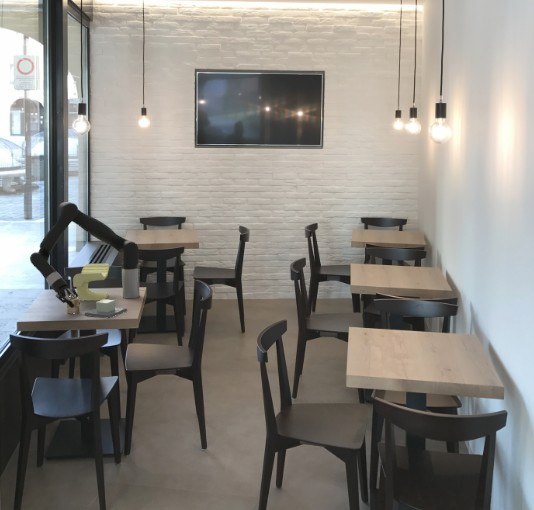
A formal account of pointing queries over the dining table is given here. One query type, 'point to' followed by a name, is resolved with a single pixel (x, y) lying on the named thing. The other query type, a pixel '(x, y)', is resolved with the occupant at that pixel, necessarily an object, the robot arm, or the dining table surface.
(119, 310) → the tower board
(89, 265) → the slatted curved stool
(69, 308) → the oak block
